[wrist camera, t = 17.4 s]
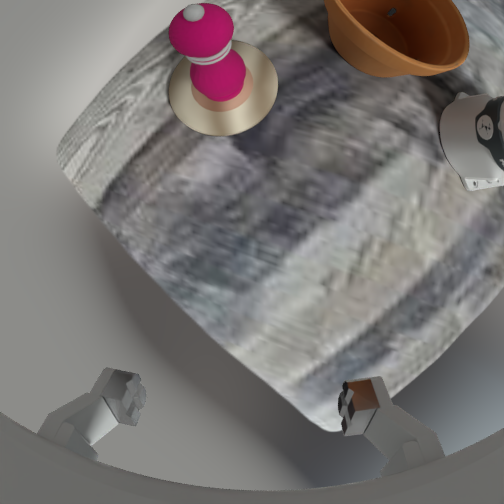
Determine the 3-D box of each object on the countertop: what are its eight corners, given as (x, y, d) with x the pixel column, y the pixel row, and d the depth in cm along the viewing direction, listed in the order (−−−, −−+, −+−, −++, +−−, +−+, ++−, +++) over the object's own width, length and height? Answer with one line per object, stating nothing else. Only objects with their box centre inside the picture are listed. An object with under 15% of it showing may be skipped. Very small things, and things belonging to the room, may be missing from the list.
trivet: (274, 42, 33) (275, 38, 32) (279, 134, 37) (280, 133, 36) (173, 50, 34) (170, 47, 33) (170, 141, 38) (167, 139, 36)
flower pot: (404, 121, 36) (459, 102, 21) (287, 55, 34) (299, 3, 20) (431, 41, 31) (474, 12, 16) (333, -17, 29) (352, -65, 15)
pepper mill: (245, 105, 35) (232, 38, 16) (195, 105, 35) (141, 45, 16) (249, 62, 33) (240, -22, 14) (200, 62, 33) (158, -14, 14)
